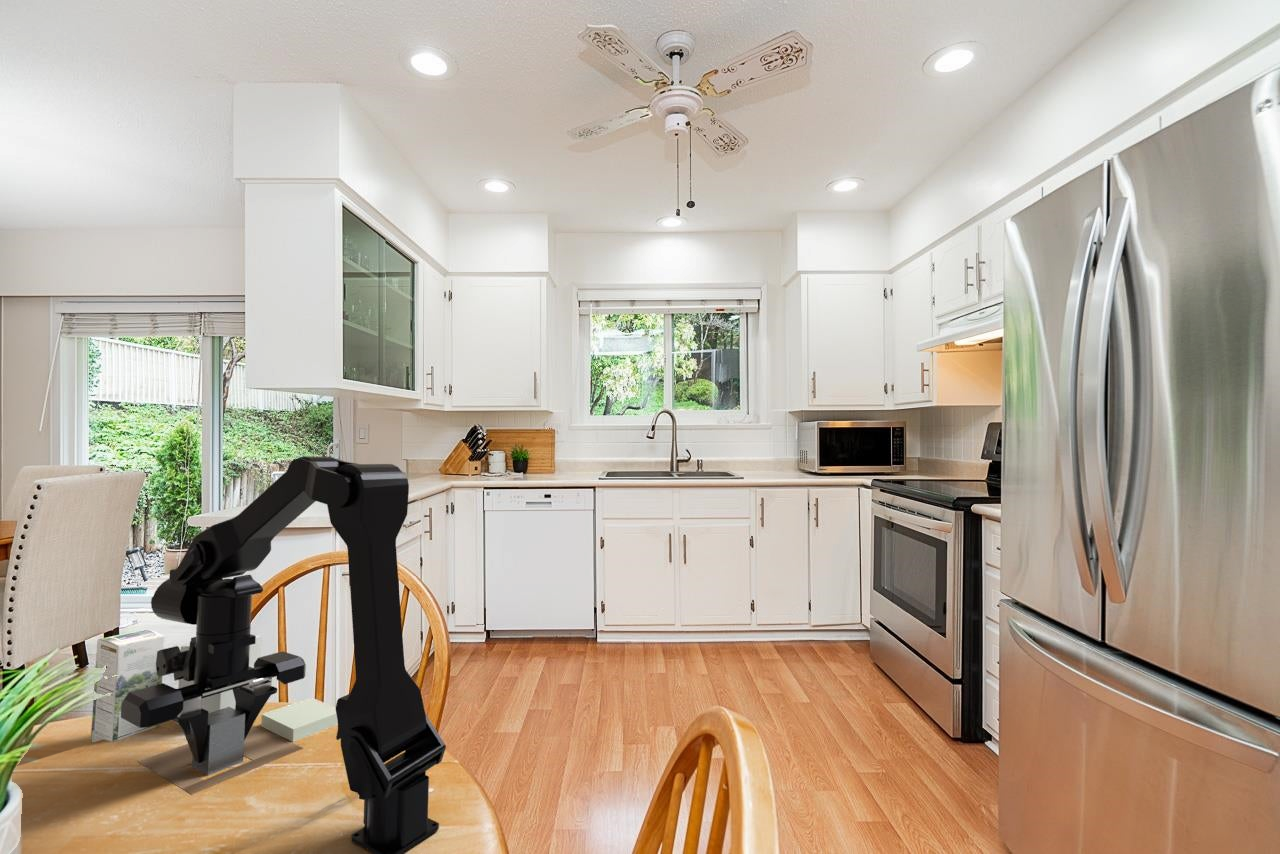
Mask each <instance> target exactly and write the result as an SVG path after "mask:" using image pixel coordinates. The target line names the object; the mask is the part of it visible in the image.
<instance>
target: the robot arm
mask: <svg viewBox="0 0 1280 854" xmlns="http://www.w3.org/2000/svg"><path fill="white" fill-rule="evenodd" d="M409 492H410V484H409V479H408V477H407V473H405V472H404V471H402V470H401V469H400V467H398V466H396V465H395V464H392V463H369V464H368V463H363V464H361V463H356V462H355V463H354V462H350V461H344V460H341V459H338V458H335V457H332V456H300V457H298V458H295V459H293V460H292V461H290V463H289V465H288V467H287V470H286V471H284V473H282V475H280V476H279V477H278V478H277V479H276V480H275V481H274V482H273V483H272V484H270V485H269V486H268V487H267V488H266V489H265V490H264V491H263V492H261V494H259V496H258V497H256V498H255V499H254V500H253V501H252V502H250V503H249V505H247V507H245V508H244V509H243V510H242V511H241V512H240V513H239V514H237V515H236V516H234V517H232V518H230V519H226V520H223V521H221V522H218V523H215V524H212V525H211V526H209V527H207V528H206V529H203V530H202V531H200V532H199V533H197V534H196V535H195V536H194V537H193V539H192V540H191V542H190V544H189V547H188V548H187V550H186V552H185V554H184V555H183V557H182V559H181V561H180V563H179V564H178V566H177V567H176V568H173V569H170V570H169V578H168V579H166V580H165V581H163V582H162V583H161V584H160V585H159V586H158V587H157V589H156V590H155V592H154V594H153V596H152V597H151V601H150V605H151V610H152V612H153V614H154V615H156V617H158V618H160V619H161V620H166V621H172V622H178V623H182V624H186V625H187V624H188V625H194V626H195V625H196V626H195V627H196V631H195V637H194V636H193V637H191V638H190V641H189V644H190V648H189V650H187V651H183V652H181V648H180V646H178V645H176V646H171V647H168V648H164V649H162V650H159V651H157V658H156V671H157V675H158V676H159V677H161V676H162V677H163V676H168V675H171V674H173V679H174V681H179V680H180V679H184V680H185V681H188V682H189V681H194V684H193V685H189V686H186V687H182V688H178V687H177V688H175V687H172V686H170V685H168V684H166V683H163V682H162V684H158V685H155V686H151V687H147V688H143V689H140V690H136V691H132V692H129V693H128V695H127V696H126V697H125V698H124V700H123V702H122V703H121V718H123V719H125V720H126V721H128V722H130V723H132V724H134V725H136V726H138V727H139V728H145V727H151V726H154V725H157V724H159V725H160V724H162V723H166V722H170V721H172V722H175V723H176V722H177V723H178V724H179V725H178V726H179V727H180V729H181V731H182V732H183V735H184V737H185V739H186V742H187V744H188V745H189V747H190V750H191V752H192V755H193V757H194V760H195V761H196V762H197V763H202V762H203V758H204V754H205V748H206V736H207V725H208V711H207V710H204V709H202V708H201V699H202V698H205V697H209V696H212V695H215V694H219V693H222V692H225V691H229V690H232V689H233V693H234V697H235V702H236V705H235V709H236V710H238V711H240V712H242V713H245V732H244V740H245V739H246V737H247V735H248V733H249V731H250V729H251V727H252V725H253V726H254V723H255V722H256V719H257V718H258V716H259V715H260V713H261V711H262V710H263V709H264V706H266V704H267V702H268V700H269V699H270V698H271V696H273V695H274V694H277V692H278V688H277V687H275V686H272V684H273V683H272V681H273V678H275V677H276V681H278V682H279V683H281V684H283V685H287V684H290V683H294V682H296V681H301V680H303V679H304V678H305V677H306V668H307V667H306V662H305V660H304V658H303V657H301V656H299V655H296V654H292V653H290V652H287V651H279V652H276V653H272V654H268V655H267V654H266V655H264V656H261V657H260V658H258V659H257V660H256V661H255V663H254V668H252V667H249V652H250V645H252V644H255V639H256V636H255V635H256V634H251V627H252V626H251V625H252V600H253V597H252V596H253V595H258V594H262V593H263V592H264V588H263V587H262V585H261V583H259V582H257V581H256V580H255V579H254V578H253V576H252V575H251V574H246V575H245V573H247V572H252V571H254V570H256V569H257V568H259V566H260V565H261V564H262V563H263V562H264V560H265V559H266V557H267V556H268V555H269V554H270V552H271V551H272V541H273V539H274V538H275V537H276V536H277V535H278V534H280V533H281V532H282V531H283V530H284V529H285V528H287V527H288V526H289V525H290V524H291V523H292V522H294V521H295V520H296V519H297V518H298V517H299V516H300V515H301V514H303V513H304V512H306V511H307V509H309V508H310V506H312V505H313V504H314V503H315V502H318V503H321V504H324V505H326V506H327V507H326V508H327V512H328V515H329V521H330V524H331V525H332V527H333V528H334V530H335V531H336V533H337V534H338V535H339V537H340V538H341V539H342V541H343V542H344V544H345V545H346V547H347V559H348V570H349V571H348V572H349V573H348V576H349V588H350V590H349V591H350V605H351V619H352V620H351V621H352V637H353V651H354V652H353V653H354V665H355V668H354V669H355V682H354V684H353V686H352V688H351V690H350V693H349V694H348V693H347V694H346V695H343V696H342V697H339V698H337V700H336V704H335V707H336V714H337V720H338V725H337V732H336V738H335V739H336V740H337V741H339V740H340V748H341V752H342V753H341V754H342V758H343V762H344V763H343V764H344V767H345V772H346V777H347V782H348V785H349V790H350V791H351V792H354V793H357V795H358V799H359V800H363V801H364V802H363V825H364V827H362V828H361V829H359V830H357V831H355V832H353V833H352V834H351V836H350V837H351V838H350V840H351V842H352V843H354V844H356V845H358V846H360V847H361V848H364V849H365V850H367V851H368V852H370V853H372V854H403V853H405V852H406V851H408V850H409V849H411V848H412V847H414V846H416V845H417V844H418V843H420V842H421V841H423V840H425V839H426V838H428V837H430V835H432V834H434V833H435V832H436V831H438V830H440V823H439V822H437V821H435V820H433V819H431V818H429V794H430V793H429V792H430V790H429V788H430V787H429V785H430V777H429V776H428V775H426V774H427V773H426V772H427V771H428V770H430V769H431V768H432V767H434V766H436V765H439V764H440V763H441V762H442V761H443V757H444V755H445V753H446V752H445V751H446V749H447V746H446V743H445V742H444V741H443V739H442V738H441V735H440V734H439V733H438V731H437V730H436V728H435V726H434V725H433V723H432V721H431V720H430V718H429V717H428V716H427V714H426V710H425V705H424V701H423V696H422V691H421V689H420V686H419V685H418V684H417V683H416V681H415V680H414V678H412V676H411V675H410V674H409V672H408V671H407V670H406V665H405V654H404V653H405V652H404V640H403V639H404V638H403V626H402V625H403V624H402V611H401V599H400V598H401V597H400V584H399V570H398V568H399V567H398V556H397V538H398V535H399V533H400V532H401V529H402V527H403V525H404V522H405V520H406V518H407V516H408V511H409V510H408V509H409ZM232 577H233V578H232ZM208 688H209V689H208ZM205 689H206V690H205Z"/></svg>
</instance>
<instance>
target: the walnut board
mask: <svg viewBox="0 0 1280 854" xmlns="http://www.w3.org/2000/svg"><path fill="white" fill-rule="evenodd" d="M303 749H304V747H303V746H300V745H298V744H295V743H294V742H292V741H290V740H288V739H287V740H286V739H285V738H283V737H281V736H279V735H278V736H277V735H276V734H273V733H271V732H268V731H266V730H264V729H262V728H260V727H258V726H255V725H254V724H253V725H252V727H251V729H250V731H249V733H248V735H247V737H246V739H245V740H244V756H243V757H246V758H248V759H249V760H250V761H248V762H245V763H243V764H240V765H237V766H235V767H233V768H230V769H228V770H226V771H223V772H220V773H218V774H216V775H213V776H210V777H208V778H205V779H203V778H201V777H199V776H197V775H196V774H194V773H192V772H191V771H189V770H187V769H185V767H186V766H189V765H192V752H191V750H190V747H189V745H188V743H186V744H183V745H181V746H178V747H175V748H172V749H169V750H166V751H163V752H161V753H157V754H154V755H152V756H149V757H146V758H143V759H140V760H138V761H137V763H139V764H141V765H142V766H144V767H145V768H147V769H149V770H151V771H152V772H154V773H156V774H157V775H159V776H160V777H162V778H163V779H164V780H166V781H168V782H170V783H171V784H174V785H175V786H176V787H178V788H180V789H181V790H183V791H185V792H186V793H188V794H190V795H194V794H196V793H199V792H201V791H203V790H206V789H208V788H212V787H213V786H216V785H219V784H221V783H223V782H225V781H228V780H230V779H233V778H236V777H238V776H241V775H243V774H245V773H247V772H250V771H252V770H254V769H255V770H256V769H257V768H259V767H262V766H264V765H267V764H269V763H271V762H274V761H276V760H278V759H279V760H280V759H281V758H284V757H285V756H289V755H291V754H293V753H296V752H299V751H301V750H303Z"/></svg>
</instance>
